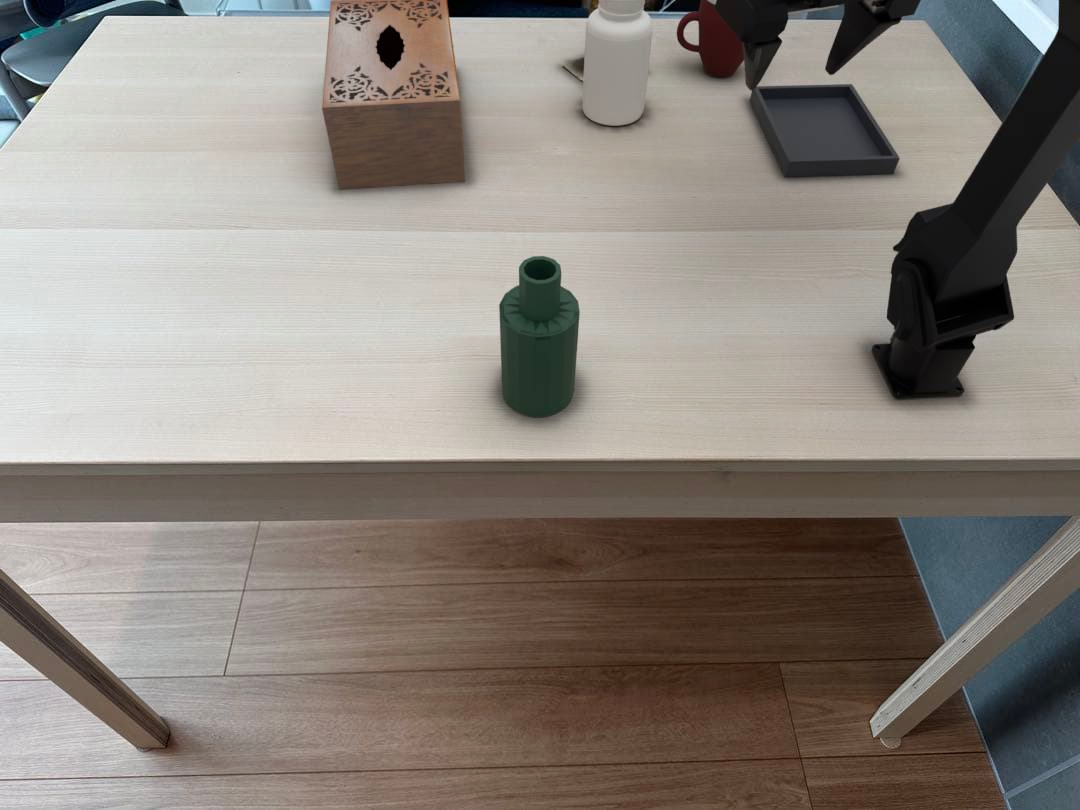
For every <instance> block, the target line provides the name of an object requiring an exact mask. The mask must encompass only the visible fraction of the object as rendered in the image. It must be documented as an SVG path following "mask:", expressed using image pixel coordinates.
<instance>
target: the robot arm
mask: <svg viewBox="0 0 1080 810" xmlns="http://www.w3.org/2000/svg"><path fill="white" fill-rule="evenodd" d="M921 1H922V0H716V4H715V8H714V9H715V11H716V12H717V13H718V14H719V15H720V17H721V18H722V19H723V20H724V22H725V23H726V24H727V25H728V26H729V28H730V29H731V30H732V31H733V33H734V34H735V35H736V36H737V38H738V39H739V40H740V41H741V42H742V43H743V52H744V61H743V65H744V66H743V67H744V78H745V79H744V80H745V86H746V87H747V88H748V90H749V91H752V90H754V89H755V88H756V87H757V86H759V84H760V82H761V81H762V79H763V78H764V76H765V74H766V72H767V71H768V68H769V67H770V65H771V63H772V61H773V59H774V58H775V56H776V54H777V53H778V51H779V49H780V47H781V45H782V44H783V39H781V37H779V36H780V35H781V34H782V33H783V32H784V31H785V30H786V27H787V24H788V22H789V16H795V15H801V14H805V13H806V14H807V13H813V12H818V11H824V10H830V9H834V8H839V7H840V6H842V5H843V15H842V18H841V21H840V24H839V27H838V28H837V29H838V30H837V32H836V35H835V37H834V40H833V43H832V46H831V48H830V49H829V53H828V55H827V61H826V63H825V68H824V69H825V72H826V73H827V74H828V75H829V76H833V75H836V73H838V71H839V70H840V69H842V68H843V67H845V66H846V64H848V63H849V62H850V61H851V60H852V59H853V58H854V57H856V56H857V55H858V54H859V53H860V52H861V51H862V50H864V49H865V48H866V47H867V46H868V45H870V44H871V43H872V42H874V41H875V40H876V39H877V38H878V37H880V36H881V35H882V34H883V33H885V32H887V30H889V29H890V28H891V27H893V26H895V25H899V24H900V23H901V21H902V19H903V17H907V16H909V17H910V16H915V13H916V11H917V10H918V7H919V5H920V3H921ZM1057 17H1058V21H1057V23H1058V25H1057V26H1058V28H1057V31H1056V32H1055V35H1054V38H1053V39H1052V41H1051V43H1050V44H1049V46H1048V47H1047V49H1046V50H1045V52H1044V54H1043V56H1042V57H1041V59H1040V60H1039V62H1038V64H1037V66H1036V67H1035V69H1034V70H1033V72H1032V73H1031V75H1030V77H1029V78H1028V80H1027V82H1026V83H1025V85H1024V86H1023V88H1022V90H1021V92H1020V93H1019V95H1018V96H1017V98H1016V100H1014V103H1013V104H1012V106H1011V107H1010V109H1009V111H1008V113H1007V114H1006V116H1005V117H1004V119H1003V121H1002V123H1001V124H1000V125H999V128H998V129H997V131H996V132H995V134H994V135H993V137H992V139H991V141H990V142H989V144H988V145H987V147H986V149H985V151H984V152H983V153H982V155H981V157H980V158H979V160H978V162H977V163H976V165H975V167H974V168H973V170H972V171H971V174H970V175H969V176H968V178H967V179H966V181H965V183H964V184H963V186H962V188H961V190H960V191H959V193H958V194H957V196H956V197H955V199H954V201H953V202H952V203H948V204H944V205H939V206H936V207H931V208H927V209H924V210H919V211H917V212H916V213H914V215H912V217H911V219H910V220H909V222H908V225H907V227H906V229H905V231H904V234H903V237H901V239H900V241H899V242H897V243H896V244H895V245H893V246H892V251H894V252H896V255H895V256H894V258H893V260H892V264H891V268H890V274H891V277H890V285H889V294H888V300H887V307H886V308H887V310H886V319H887V321H888V322H889V323H890V324H891V325H892V326H893V330H894V331H893V332H892V335H891V337H890V339H889V341H890V342H889V343H874V344H873V345H872V346H871V349H870V351H871V354H872V355H873V358H874V360H875V362H876V364H877V367H878V368H879V370H880V372H881V374H882V377H883V379H884V380H885V383H886V385H887V387H888V389H889V391H890V393H891V395H892V397H893V398H894V399H897V400H908V399H909V400H910V399H911V400H912V399H929V398H930V399H931V398H932V399H933V398H950V397H951V398H952V397H953V398H954V397H962V396H963V394H964V393H965V388H964V386H963V384H962V382H961V380H960V379H959V377H958V376H959V375H960V373H961V371H962V370H963V368H964V367H965V366H966V364H967V362H968V361H969V358H970V357H971V355H972V354H973V352H974V350H976V345H975V344H974V341H975V339H976V337H977V335H980V334H984V333H987V332H990V331H998V330H1000V329H1002V328H1003V327H1005V326H1006V325H1008V324H1010V323H1011V322H1012V321H1014V320H1015V313H1014V307H1013V302H1012V301H1013V300H1012V297H1011V290H1010V285H1009V281H1008V275H1007V274H1008V273H1009V270H1010V268H1011V266H1012V264H1013V262H1014V260H1015V258H1016V256H1017V254H1018V249H1019V247H1018V225H1019V223H1020V222H1021V220H1022V219H1023V218H1024V217H1025V214H1026V213H1027V212H1028V210H1029V209H1030V208H1031V206H1032V205H1033V203H1034V202H1035V201H1036V199H1037V198H1038V197H1039V195H1040V194H1041V192H1042V191H1043V190H1044V188H1045V187H1046V186H1047V184H1048V183H1049V181H1050V180H1051V178H1052V177H1053V176H1054V174H1055V173H1056V172H1057V170H1058V169H1059V167H1060V166H1061V164H1062V163H1063V161H1065V159H1066V158H1067V156H1068V155H1069V153H1071V151H1072V149H1073V148H1074V147H1075V145H1076V144H1077V142H1078V141H1079V139H1080V0H1058V15H1057Z"/></svg>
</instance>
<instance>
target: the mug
mask: <svg viewBox="0 0 1080 810" xmlns="http://www.w3.org/2000/svg"><path fill="white" fill-rule="evenodd" d="M715 4H716V0H700V4H699V7H698V11H689V12H687V13H686V14H684V15H683V17H682V18H681V19H680V20H679V22H678V24H677V27H676V39H677V42H678V44H679V45H680V46H681V47H682V48H683V49H685V50H686V51H689V52H694V53H698V55H699V57H700V60H701V63H702V66H703V68H704V71H705V73H707V75H710V76H712V77H714V78H728V77H731V76H732V75H734V73H736V71H737V70H738V68H739V67H740V66H741V65H742V64H743V63H744V52H743V43H742V42H741V41H740V40H739V39H738V38H737V36H736V35H735V34H734V33H733V31H732V30H731V29H730V28H729V26H728V25H727V24H726V23H725V22H724V20H723V19H722V18H721V17H720V15H719V14H718V13H717V12H716V11H715V9H714V8H715ZM691 22H698V23H697V24H698V44H693V43H690V42H688V41H687V39H686V38H685V35H684V34H685V33H684V32H685V29H686V27H687V25H688V24H689V23H691Z"/></svg>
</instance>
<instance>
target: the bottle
mask: <svg viewBox="0 0 1080 810" xmlns="http://www.w3.org/2000/svg"><path fill="white" fill-rule="evenodd" d="M561 267H562V266H561V264H560V263H559V262H558V261H557V260H556V259H554V258H551V257H549V256H545V255H533V256H530V257H528V258H526V259H524V260H523V261H522V262H521V264H519V266H518V284H517V285H516V286H514V287H512V288H511V289H509V291H507V292H505V294H504V295H503V296H502V298H501V301H500V302H499V304H498V306H499V307H498V310H499V311H498V312H499V339H500V341H499V342H500V366H501V367H500V368H501V369H500V370H501V390H502V391H501V393H502V397H503V399H504V401H505V403H506V404H507V406H509V407H510V408H511V409H512V410H513V411H515V412H516V413H518V414H520V415H523V416H526V417H532V418H546V417H551V416H553V415H556V414H558V413H560V412H563V410H564V409H565V408H567V407H568V405H569V404H570V403H571V401H572V399H573V397H574V391H575V382H576V371H577V369H576V368H577V356H578V355H577V354H578V344H579V343H578V342H579V328H580V315H581V314H580V313H581V311H580V305H579V301H578V299H577V298H576V297H575V295H574V294H573V293H572V292H571V290H569V289H568V288H565V287H563V286H562V285H561V284H562V268H561Z"/></svg>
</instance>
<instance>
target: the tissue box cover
mask: <svg viewBox="0 0 1080 810" xmlns="http://www.w3.org/2000/svg"><path fill="white" fill-rule="evenodd" d="M327 30H328V31H327V41H326V55H325V65H324V66H325V68H324V79H323V80H324V81H323V91H322V103H321V109H322V113H323V120H324V124H325V128H326V133H327V138H328V142H329V147H330V152H331V157H332V163H333V166H334V171H335V176H336V181H337V186H338V189H339V190H351V189H363V188H364V189H365V188H366V189H367V188H380V187H381V188H382V187H395V186H396V187H397V186H414V185H426V184H427V185H429V184H442V183H459V182H460V183H461V182H466V181H467V179H466V166H465V164H466V163H465V150H464V149H465V148H464V135H463V134H464V133H463V121H462V119H463V118H462V105H461V96H460V95H461V94H460V88H459V80H458V73H457V65H456V58H455V51H454V42H453V35H452V27H451V19H450V13H449V6H448V0H330V5H329V18H328V29H327Z"/></svg>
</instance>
